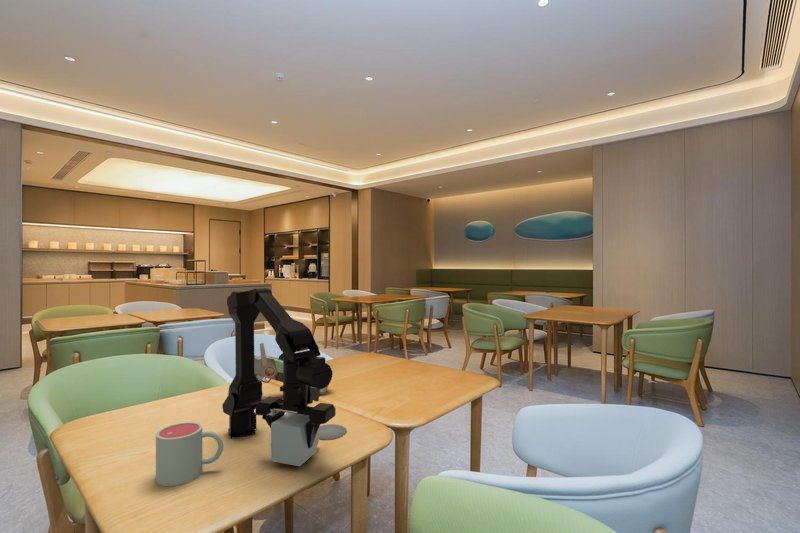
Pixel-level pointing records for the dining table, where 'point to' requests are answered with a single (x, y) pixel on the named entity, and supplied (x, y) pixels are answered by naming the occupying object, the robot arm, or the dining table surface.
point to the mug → (182, 453)
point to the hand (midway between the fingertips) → (295, 445)
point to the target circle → (331, 431)
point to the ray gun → (270, 368)
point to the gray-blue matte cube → (291, 440)
